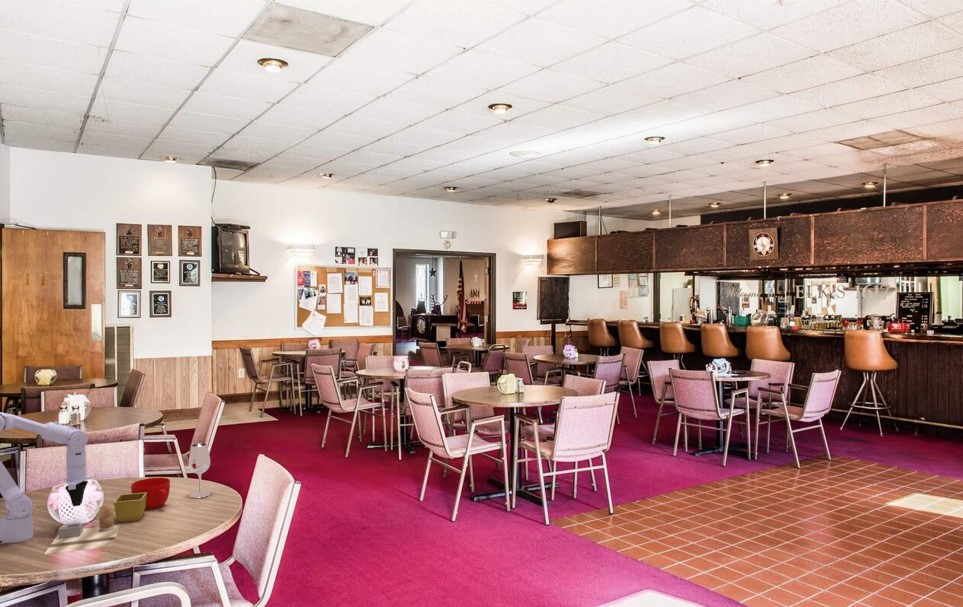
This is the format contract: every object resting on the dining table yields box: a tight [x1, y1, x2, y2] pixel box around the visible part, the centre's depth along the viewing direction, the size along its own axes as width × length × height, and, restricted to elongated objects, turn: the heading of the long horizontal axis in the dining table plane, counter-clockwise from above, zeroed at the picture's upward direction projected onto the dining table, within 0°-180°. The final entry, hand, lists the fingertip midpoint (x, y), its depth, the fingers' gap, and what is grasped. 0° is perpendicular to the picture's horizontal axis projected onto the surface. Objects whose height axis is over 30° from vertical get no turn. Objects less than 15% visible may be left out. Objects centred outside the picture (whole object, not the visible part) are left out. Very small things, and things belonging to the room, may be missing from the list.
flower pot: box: [113, 492, 147, 523], centre depth 234 cm, size 9×9×9 cm
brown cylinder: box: [98, 504, 115, 532], centre depth 223 cm, size 4×4×8 cm
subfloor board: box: [43, 524, 122, 555], centre depth 215 cm, size 18×20×2 cm
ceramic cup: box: [130, 477, 171, 510], centre depth 246 cm, size 13×17×10 cm
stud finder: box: [57, 522, 84, 539], centre depth 218 cm, size 6×4×3 cm, turn 110°
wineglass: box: [188, 442, 211, 499], centre depth 263 cm, size 8×8×20 cm
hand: (77, 504), depth 227 cm, fingers closed
